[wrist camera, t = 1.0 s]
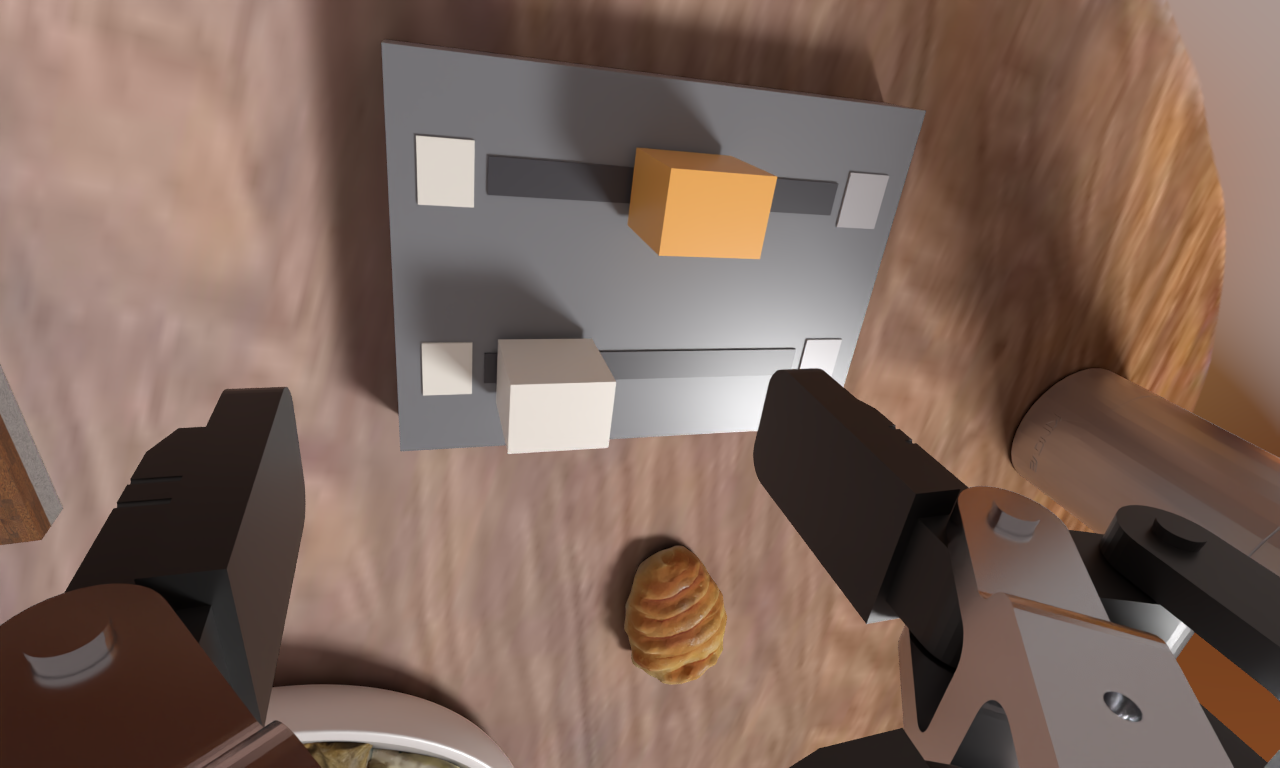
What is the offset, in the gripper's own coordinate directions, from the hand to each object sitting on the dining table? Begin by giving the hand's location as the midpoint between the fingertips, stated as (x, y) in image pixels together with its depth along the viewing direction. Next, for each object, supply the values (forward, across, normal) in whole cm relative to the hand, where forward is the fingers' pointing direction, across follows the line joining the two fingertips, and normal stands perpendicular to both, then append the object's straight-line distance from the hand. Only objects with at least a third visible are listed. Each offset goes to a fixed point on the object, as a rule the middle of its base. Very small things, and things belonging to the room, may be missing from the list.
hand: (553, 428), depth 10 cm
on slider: (+17, -3, +8) cm, 19 cm away
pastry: (+20, -13, +27) cm, 36 cm away
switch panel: (+20, -8, +4) cm, 22 cm away
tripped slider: (+17, -8, 0) cm, 19 cm away
